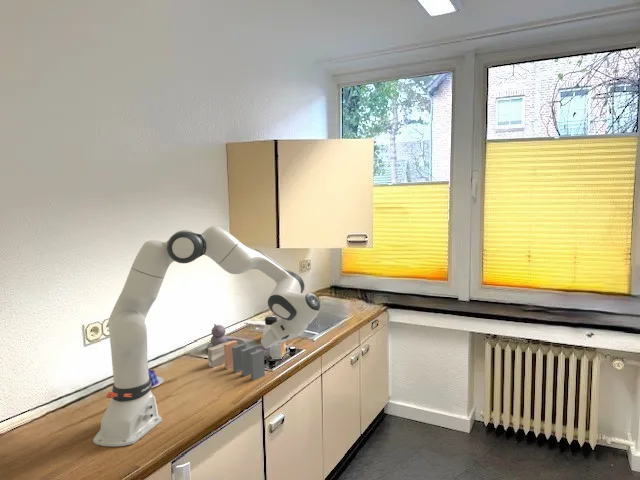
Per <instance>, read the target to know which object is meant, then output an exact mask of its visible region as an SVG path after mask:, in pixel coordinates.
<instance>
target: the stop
mask: <svg viewBox="0 0 640 480" xmlns="http://www.w3.org/2000/svg"><path fill="white" fill-rule="evenodd" d="M229 342H232V341H231V340H227V342H225V343H222V344H220V345H217V346H214V347H213V346H212V347H208V348H207V356H208V357H207V358H208V359H207V361H208V367H210V368H216V367H218V366H221V365H223V364H225V355H224V344H226V343H229Z"/></svg>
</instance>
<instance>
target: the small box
mask: <svg viewBox="0 0 640 480" xmlns="http://www.w3.org/2000/svg"><path fill="white" fill-rule="evenodd" d="M285 353H286V354H287V343H286V341H284V342H283V343H281V345H279V346H276V347H274V346H272V347H269V357H270V356H273V357H275V358H281V359H282V357H283V356H284V354H285ZM284 357H285V356H284ZM284 357H283V358H284ZM282 360H283V359H282Z"/></svg>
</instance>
